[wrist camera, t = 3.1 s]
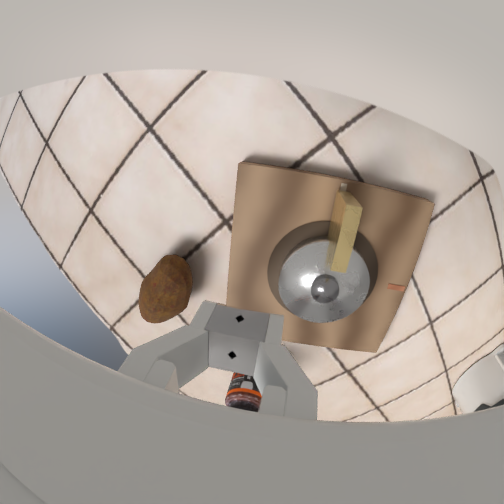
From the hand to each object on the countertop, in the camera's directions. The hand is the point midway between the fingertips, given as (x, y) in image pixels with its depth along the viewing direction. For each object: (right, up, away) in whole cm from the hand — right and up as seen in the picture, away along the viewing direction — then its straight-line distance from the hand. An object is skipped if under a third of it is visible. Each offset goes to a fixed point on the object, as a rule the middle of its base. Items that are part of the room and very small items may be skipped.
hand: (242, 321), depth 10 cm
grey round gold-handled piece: (+9, +2, +19) cm, 21 cm away
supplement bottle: (+1, -15, +31) cm, 35 cm away
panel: (+9, +1, +22) cm, 24 cm away
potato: (-10, -1, +27) cm, 29 cm away
